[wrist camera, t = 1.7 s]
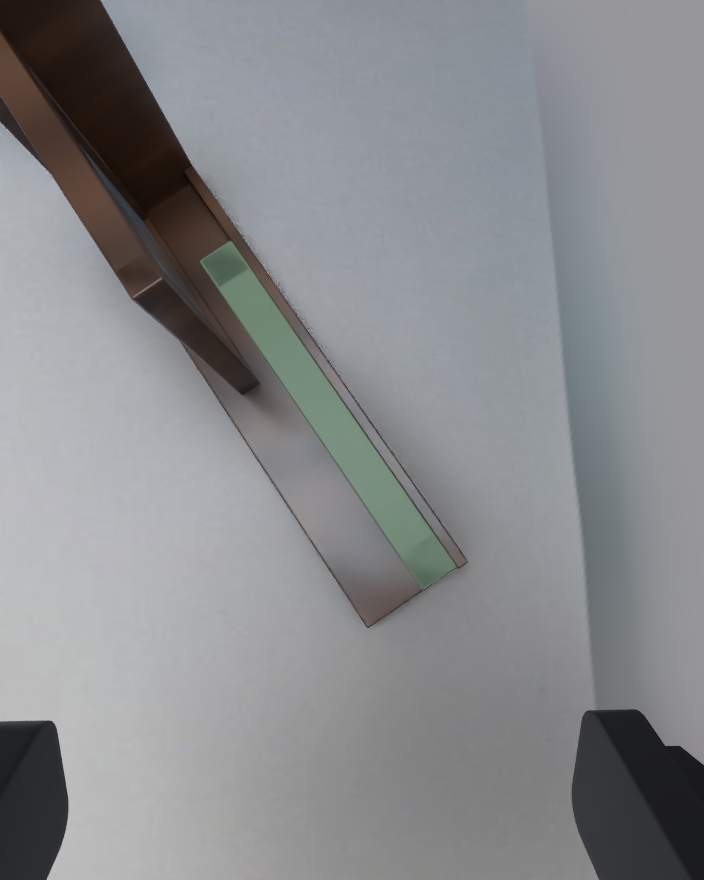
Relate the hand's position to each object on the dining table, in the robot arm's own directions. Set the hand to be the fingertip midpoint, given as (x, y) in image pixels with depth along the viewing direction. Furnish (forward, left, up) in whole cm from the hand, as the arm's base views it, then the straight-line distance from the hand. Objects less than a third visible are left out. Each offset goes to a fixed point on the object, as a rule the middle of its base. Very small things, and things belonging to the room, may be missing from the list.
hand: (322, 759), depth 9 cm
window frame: (-10, -8, -23) cm, 27 cm away
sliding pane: (-7, -2, -22) cm, 23 cm away
